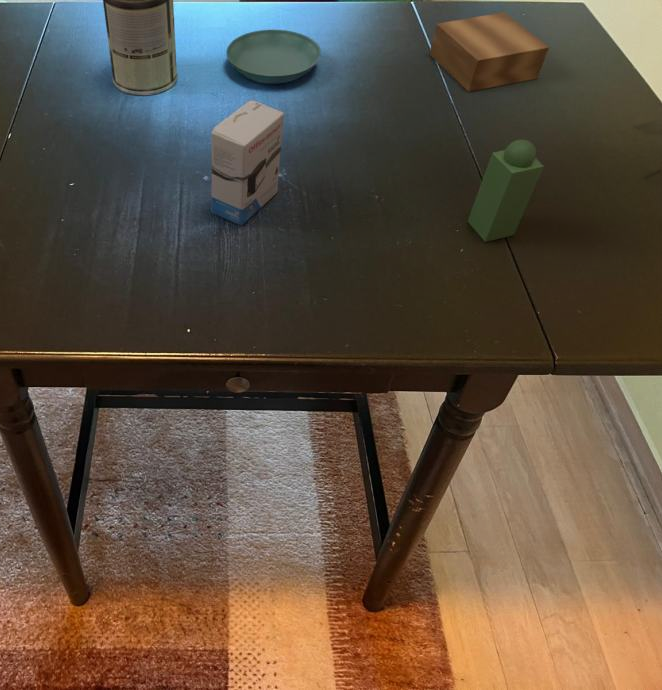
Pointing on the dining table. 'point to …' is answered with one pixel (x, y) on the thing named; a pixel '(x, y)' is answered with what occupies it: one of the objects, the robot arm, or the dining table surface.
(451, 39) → the wooden block
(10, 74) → the dining table surface
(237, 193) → the ink box
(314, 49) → the saucer
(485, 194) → the toy tower
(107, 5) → the coffee can
